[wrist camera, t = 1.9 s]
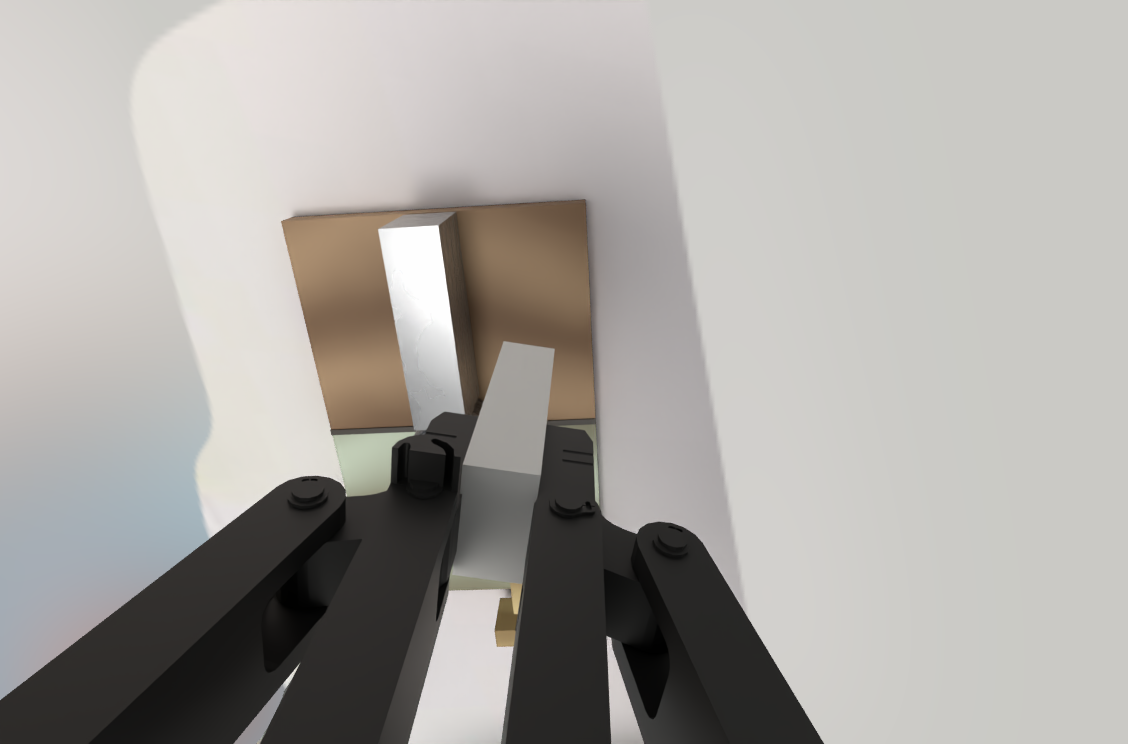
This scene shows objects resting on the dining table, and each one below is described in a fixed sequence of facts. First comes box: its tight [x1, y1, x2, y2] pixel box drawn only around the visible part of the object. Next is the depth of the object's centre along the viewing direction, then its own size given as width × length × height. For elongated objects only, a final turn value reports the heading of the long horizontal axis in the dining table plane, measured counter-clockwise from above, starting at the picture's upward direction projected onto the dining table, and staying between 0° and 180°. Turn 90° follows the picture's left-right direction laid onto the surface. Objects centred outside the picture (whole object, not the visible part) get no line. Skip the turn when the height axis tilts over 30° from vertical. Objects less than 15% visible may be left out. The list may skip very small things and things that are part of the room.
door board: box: [281, 200, 600, 647], centre depth 31 cm, size 24×14×4 cm, turn 4°
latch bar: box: [378, 212, 484, 436], centre depth 28 cm, size 13×4×4 cm, turn 4°
